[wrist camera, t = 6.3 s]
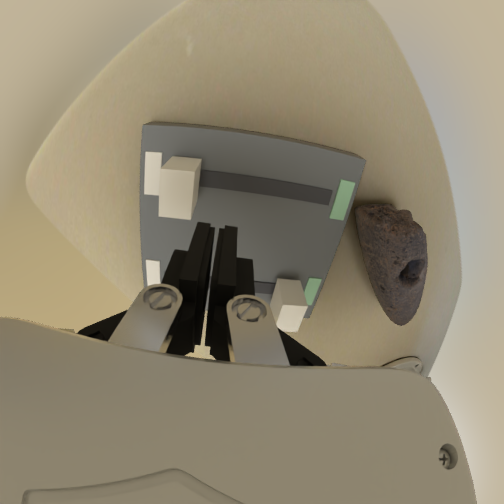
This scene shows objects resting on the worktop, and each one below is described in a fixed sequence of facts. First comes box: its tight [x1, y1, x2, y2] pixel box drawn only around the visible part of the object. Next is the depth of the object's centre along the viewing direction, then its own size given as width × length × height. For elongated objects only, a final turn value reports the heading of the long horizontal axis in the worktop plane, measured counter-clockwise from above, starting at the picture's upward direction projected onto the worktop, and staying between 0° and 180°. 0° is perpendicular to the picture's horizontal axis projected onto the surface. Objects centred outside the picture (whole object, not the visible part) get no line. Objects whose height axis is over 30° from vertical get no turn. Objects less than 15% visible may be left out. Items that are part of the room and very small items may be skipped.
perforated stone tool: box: [355, 204, 428, 326], centre depth 22 cm, size 15×5×7 cm, turn 24°
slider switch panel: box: [140, 122, 366, 318], centre depth 22 cm, size 16×16×2 cm
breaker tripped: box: [159, 156, 202, 220], centre depth 16 cm, size 2×3×3 cm, turn 170°
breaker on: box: [270, 278, 308, 332], centre depth 22 cm, size 2×3×3 cm, turn 170°
